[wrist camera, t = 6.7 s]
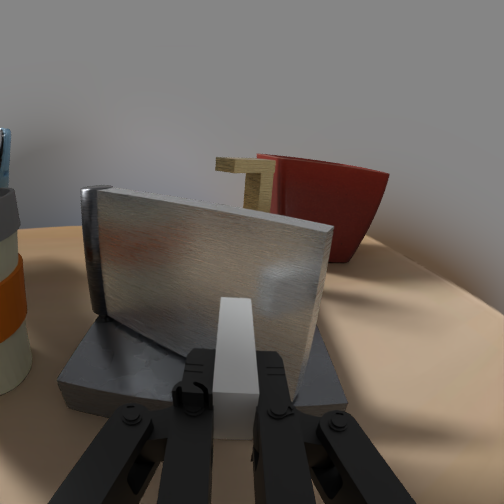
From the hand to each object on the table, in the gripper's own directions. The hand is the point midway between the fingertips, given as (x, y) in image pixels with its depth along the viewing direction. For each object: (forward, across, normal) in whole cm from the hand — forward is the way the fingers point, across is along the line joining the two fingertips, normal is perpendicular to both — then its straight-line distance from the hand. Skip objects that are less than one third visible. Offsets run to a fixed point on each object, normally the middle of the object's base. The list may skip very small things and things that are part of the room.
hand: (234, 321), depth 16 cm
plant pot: (+40, +14, -10) cm, 43 cm away
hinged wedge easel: (+6, -4, -6) cm, 9 cm away
